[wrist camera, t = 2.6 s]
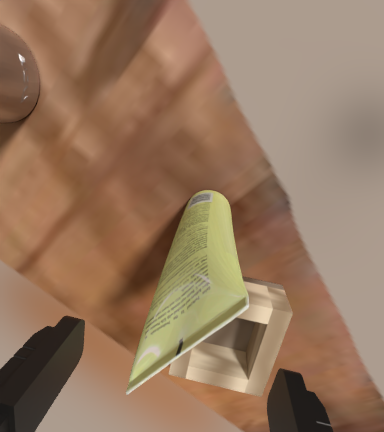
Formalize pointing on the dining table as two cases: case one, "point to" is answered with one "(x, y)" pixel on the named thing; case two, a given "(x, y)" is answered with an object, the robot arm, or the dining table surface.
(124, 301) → the dining table surface
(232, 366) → the socket block
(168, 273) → the tube
